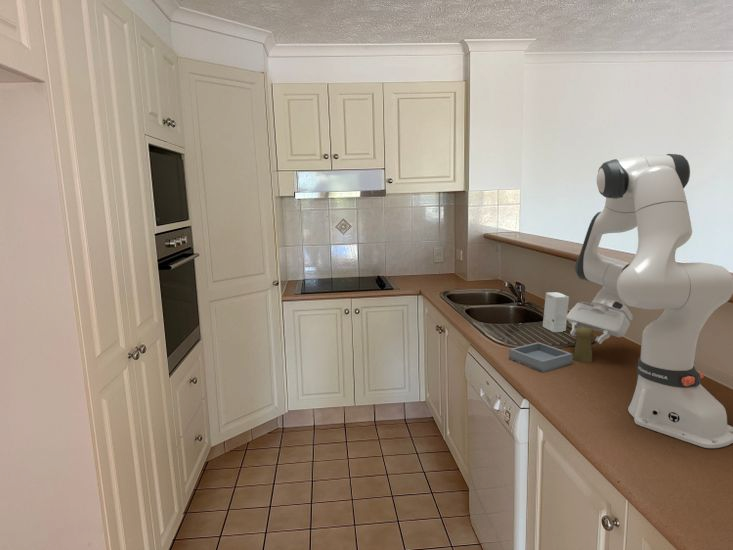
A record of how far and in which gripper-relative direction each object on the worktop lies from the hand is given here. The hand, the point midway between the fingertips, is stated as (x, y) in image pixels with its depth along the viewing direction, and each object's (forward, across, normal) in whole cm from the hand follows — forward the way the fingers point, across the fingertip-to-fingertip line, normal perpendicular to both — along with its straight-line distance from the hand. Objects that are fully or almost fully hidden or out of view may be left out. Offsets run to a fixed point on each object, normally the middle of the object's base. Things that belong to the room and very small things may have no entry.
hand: (584, 338), depth 156 cm
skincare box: (-9, -28, +19) cm, 35 cm away
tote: (+15, -6, -5) cm, 17 cm away
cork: (+6, 0, +5) cm, 7 cm away
